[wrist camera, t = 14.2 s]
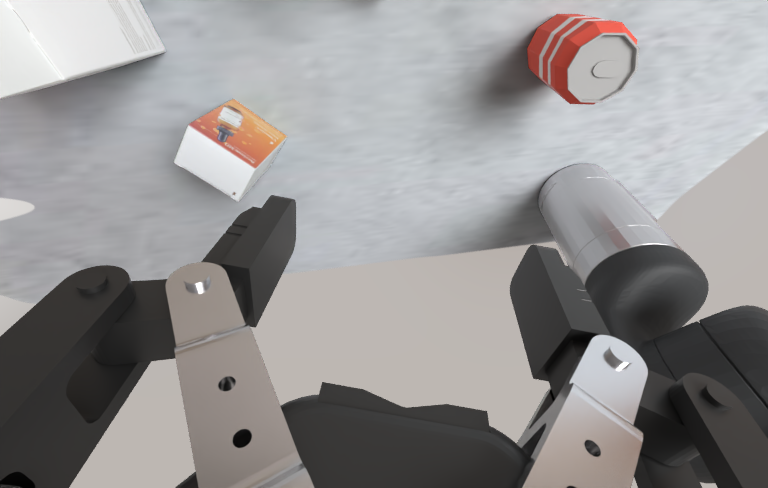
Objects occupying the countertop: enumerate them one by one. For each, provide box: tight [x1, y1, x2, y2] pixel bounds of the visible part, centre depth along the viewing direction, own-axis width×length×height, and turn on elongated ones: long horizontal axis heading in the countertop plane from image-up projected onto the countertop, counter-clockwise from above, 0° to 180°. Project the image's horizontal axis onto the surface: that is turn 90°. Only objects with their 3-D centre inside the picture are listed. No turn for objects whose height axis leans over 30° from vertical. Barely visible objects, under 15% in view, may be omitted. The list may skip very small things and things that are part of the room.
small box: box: [174, 99, 287, 202], centre depth 42 cm, size 8×6×10 cm
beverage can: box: [527, 14, 639, 104], centre depth 32 cm, size 6×6×12 cm
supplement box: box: [0, 0, 166, 99], centre depth 33 cm, size 9×9×15 cm
